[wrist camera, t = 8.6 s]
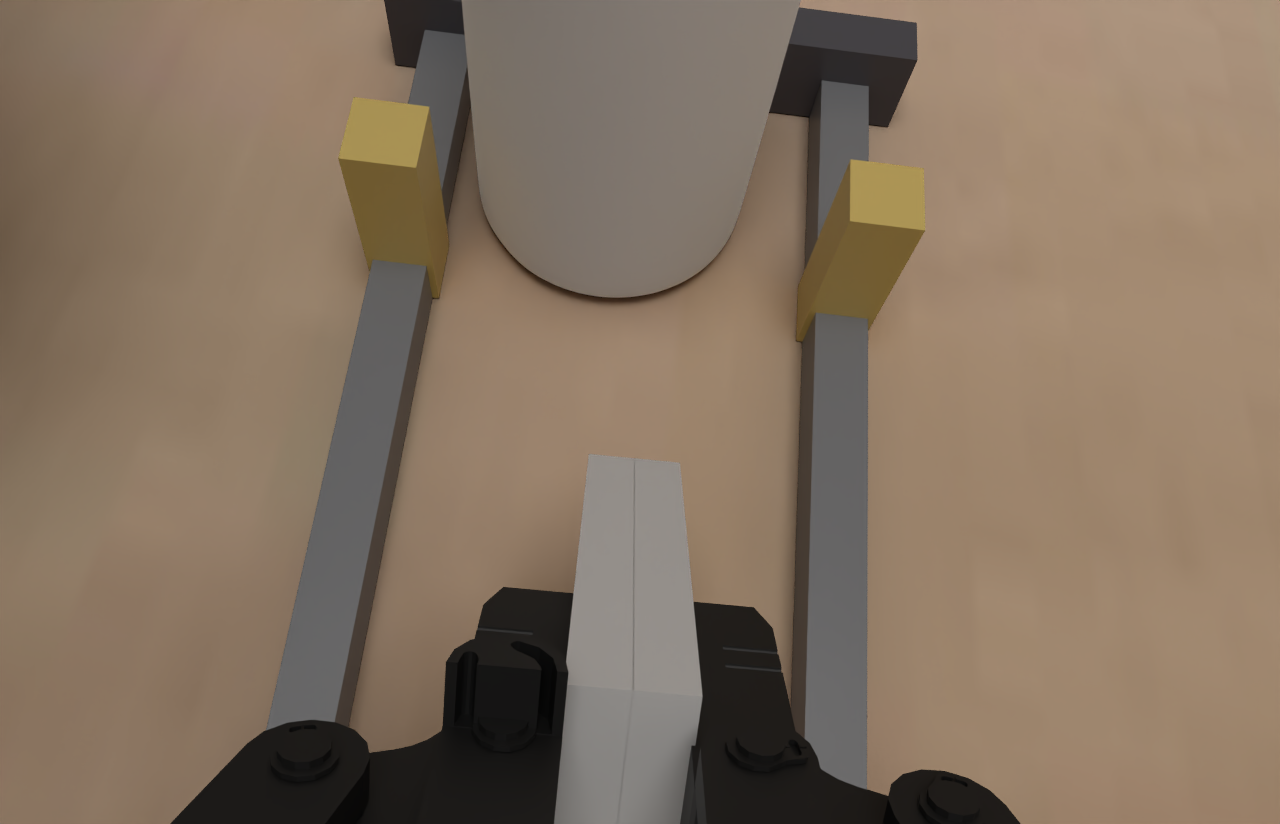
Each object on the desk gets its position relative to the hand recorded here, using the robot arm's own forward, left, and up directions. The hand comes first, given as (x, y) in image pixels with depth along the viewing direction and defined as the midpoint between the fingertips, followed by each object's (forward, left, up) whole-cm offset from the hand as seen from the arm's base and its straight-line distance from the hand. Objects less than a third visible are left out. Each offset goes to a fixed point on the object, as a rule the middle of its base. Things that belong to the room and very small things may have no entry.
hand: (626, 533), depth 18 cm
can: (-1, +10, -5) cm, 12 cm away
